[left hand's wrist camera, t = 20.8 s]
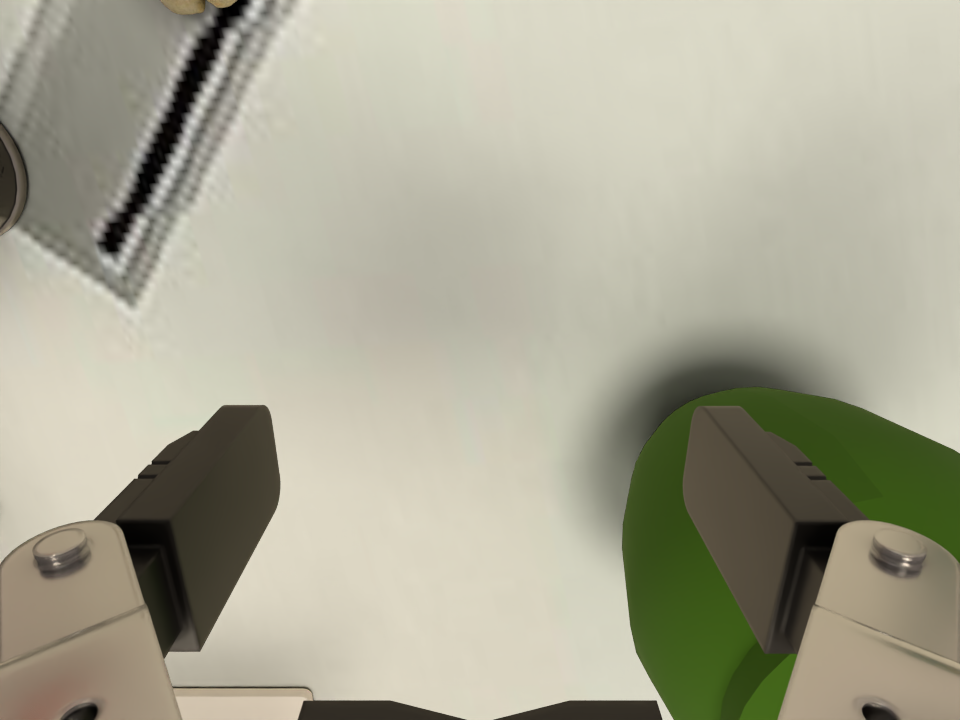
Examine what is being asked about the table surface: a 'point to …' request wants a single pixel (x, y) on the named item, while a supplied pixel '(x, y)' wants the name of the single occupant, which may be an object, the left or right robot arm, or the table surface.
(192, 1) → the sculpture
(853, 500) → the vase
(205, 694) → the tablet stand
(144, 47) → the table surface
